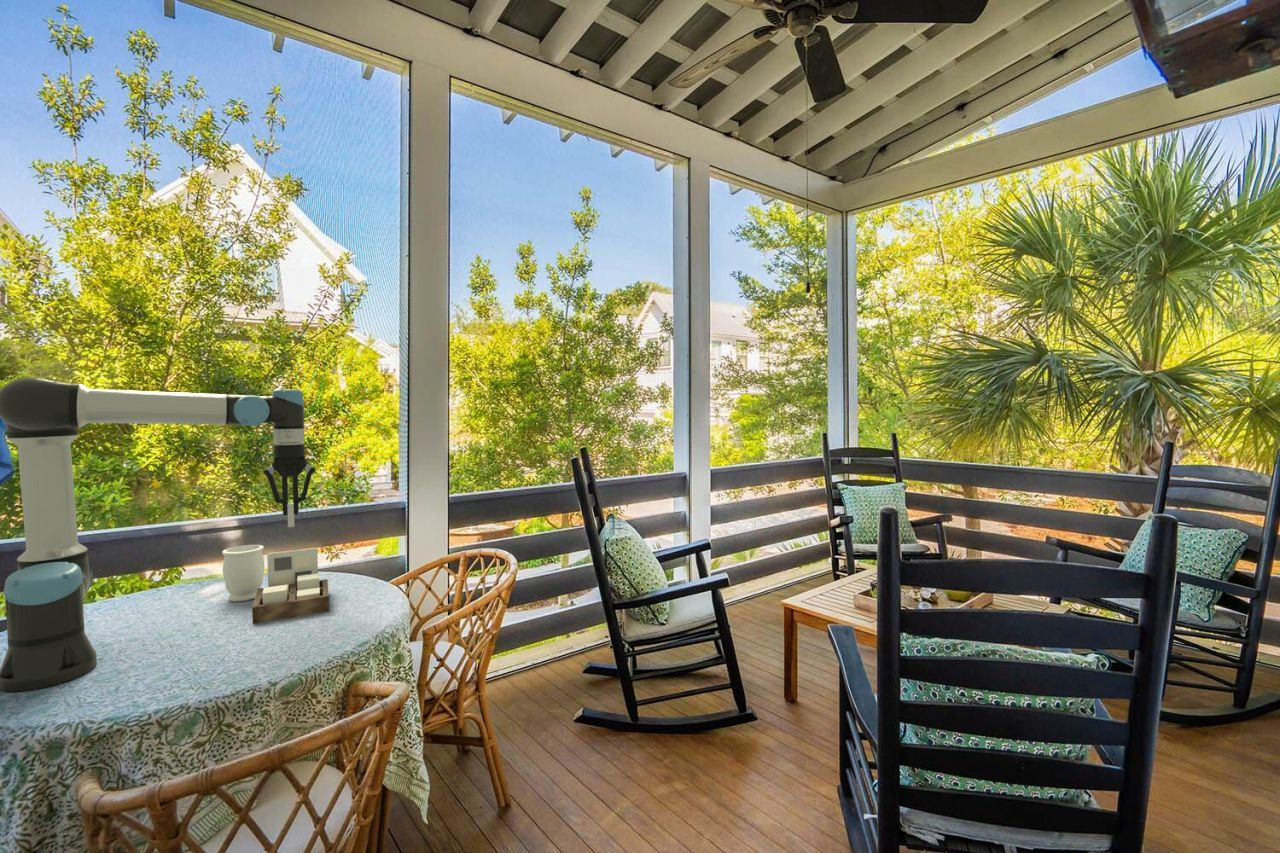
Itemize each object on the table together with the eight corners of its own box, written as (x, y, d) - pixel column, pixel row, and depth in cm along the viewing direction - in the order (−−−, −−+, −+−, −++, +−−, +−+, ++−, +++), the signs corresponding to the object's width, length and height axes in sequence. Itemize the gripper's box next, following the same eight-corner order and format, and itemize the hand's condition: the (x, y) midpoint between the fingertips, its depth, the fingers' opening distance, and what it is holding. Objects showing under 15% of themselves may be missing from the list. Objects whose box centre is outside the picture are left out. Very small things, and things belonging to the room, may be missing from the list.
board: (252, 623, 155) (252, 607, 155) (258, 603, 171) (257, 588, 170) (329, 611, 164) (328, 596, 163) (327, 593, 179) (327, 579, 179)
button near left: (262, 608, 158) (262, 593, 158) (264, 601, 163) (263, 587, 162) (286, 604, 160) (286, 590, 160) (287, 598, 165) (287, 584, 165)
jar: (272, 595, 178) (270, 547, 177) (234, 605, 169) (232, 554, 168) (255, 589, 183) (253, 542, 183) (217, 599, 175) (215, 549, 174)
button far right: (297, 594, 169) (297, 580, 168) (298, 589, 173) (297, 575, 173) (319, 591, 171) (319, 577, 171) (319, 586, 176) (319, 573, 176)
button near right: (297, 610, 162) (296, 596, 162) (297, 604, 167) (297, 590, 166) (320, 606, 164) (319, 592, 164) (320, 600, 169) (319, 587, 169)
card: (268, 600, 173) (267, 554, 172) (269, 599, 174) (267, 553, 173) (318, 593, 179) (317, 548, 179) (318, 592, 180) (317, 547, 180)
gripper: (260, 445, 158) (262, 531, 159) (315, 443, 165) (317, 526, 165) (263, 443, 165) (265, 526, 166) (315, 442, 171) (317, 521, 172)
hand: (291, 526), depth 166 cm, fingers closed
